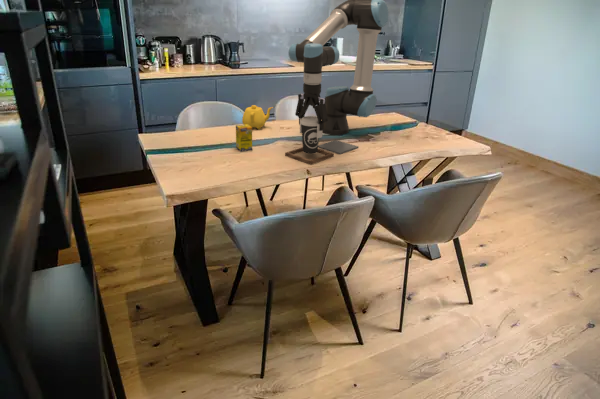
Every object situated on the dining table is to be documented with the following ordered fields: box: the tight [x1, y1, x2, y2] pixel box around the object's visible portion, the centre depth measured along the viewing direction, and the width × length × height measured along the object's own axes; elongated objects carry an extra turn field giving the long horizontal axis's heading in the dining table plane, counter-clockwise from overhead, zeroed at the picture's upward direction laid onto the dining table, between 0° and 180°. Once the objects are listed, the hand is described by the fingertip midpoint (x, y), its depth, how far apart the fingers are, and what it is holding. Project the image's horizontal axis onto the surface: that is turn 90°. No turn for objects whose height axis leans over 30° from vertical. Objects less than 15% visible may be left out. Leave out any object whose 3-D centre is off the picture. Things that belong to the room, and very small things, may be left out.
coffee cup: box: [300, 115, 320, 155], centre depth 191 cm, size 10×10×15 cm
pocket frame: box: [284, 146, 335, 166], centre depth 195 cm, size 15×15×2 cm
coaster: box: [318, 139, 360, 155], centre depth 207 cm, size 14×14×1 cm
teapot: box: [241, 104, 274, 130], centre depth 232 cm, size 14×14×12 cm
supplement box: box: [235, 124, 253, 152], centre depth 199 cm, size 6×6×11 cm
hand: (310, 134), depth 191 cm, fingers closed on coffee cup, 9 cm apart
